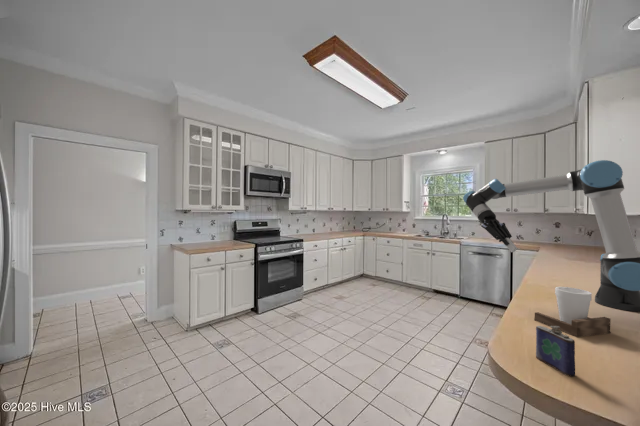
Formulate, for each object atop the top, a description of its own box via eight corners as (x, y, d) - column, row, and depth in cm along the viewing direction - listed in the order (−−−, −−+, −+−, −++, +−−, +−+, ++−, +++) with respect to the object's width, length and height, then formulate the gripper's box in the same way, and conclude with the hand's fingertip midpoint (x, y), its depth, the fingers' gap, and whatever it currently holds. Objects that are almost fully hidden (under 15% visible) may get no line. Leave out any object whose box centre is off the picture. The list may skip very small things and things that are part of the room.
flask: (533, 356, 72) (533, 319, 72) (542, 356, 72) (542, 318, 72) (569, 377, 63) (570, 334, 63) (579, 377, 63) (580, 333, 63)
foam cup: (599, 332, 88) (599, 294, 88) (573, 332, 88) (573, 294, 88) (571, 320, 97) (571, 286, 97) (548, 320, 97) (548, 286, 97)
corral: (565, 317, 100) (565, 304, 100) (610, 333, 87) (610, 318, 87) (534, 320, 97) (534, 307, 97) (576, 337, 84) (576, 321, 84)
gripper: (490, 219, 138) (520, 254, 121) (469, 219, 135) (497, 255, 119) (499, 209, 133) (531, 245, 116) (478, 209, 130) (508, 245, 113)
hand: (514, 250), depth 117 cm, fingers closed
